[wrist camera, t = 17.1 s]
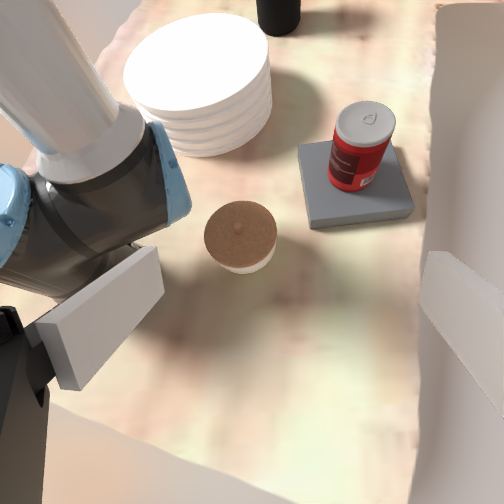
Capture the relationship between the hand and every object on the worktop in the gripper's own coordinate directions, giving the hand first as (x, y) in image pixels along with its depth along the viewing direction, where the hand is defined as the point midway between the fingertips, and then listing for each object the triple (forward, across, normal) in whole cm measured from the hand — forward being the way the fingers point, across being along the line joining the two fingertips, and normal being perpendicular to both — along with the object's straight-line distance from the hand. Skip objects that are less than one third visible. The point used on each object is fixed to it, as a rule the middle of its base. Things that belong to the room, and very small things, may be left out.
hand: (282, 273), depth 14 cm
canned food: (+38, +10, 0) cm, 40 cm away
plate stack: (+56, -19, +13) cm, 60 cm away
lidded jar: (+31, -7, -11) cm, 34 cm away
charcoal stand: (+40, +10, -2) cm, 42 cm away
